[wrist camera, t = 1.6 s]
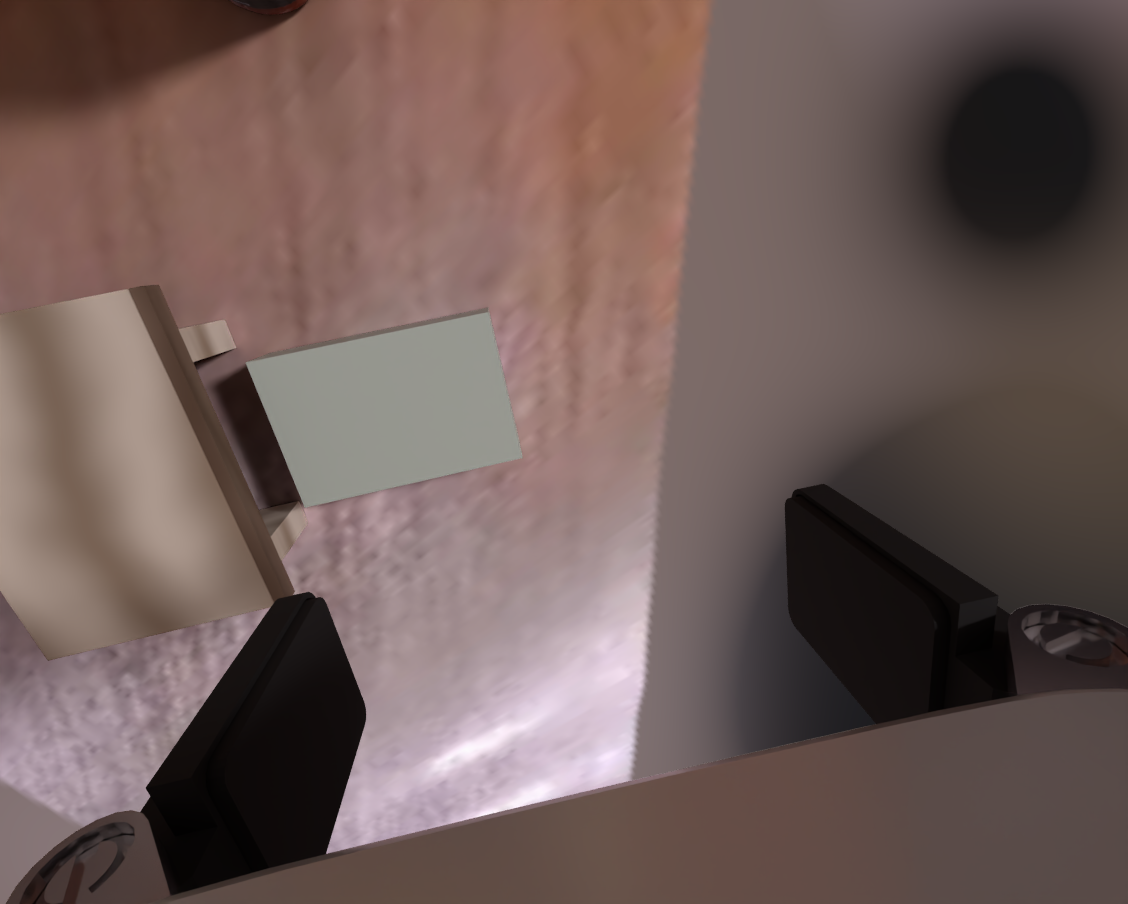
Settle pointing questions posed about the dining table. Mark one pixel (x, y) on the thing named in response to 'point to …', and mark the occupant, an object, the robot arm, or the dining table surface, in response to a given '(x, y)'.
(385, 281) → the dining table surface
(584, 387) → the dining table surface
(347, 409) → the pale green tile
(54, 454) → the beige wooden box
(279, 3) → the supplement bottle
